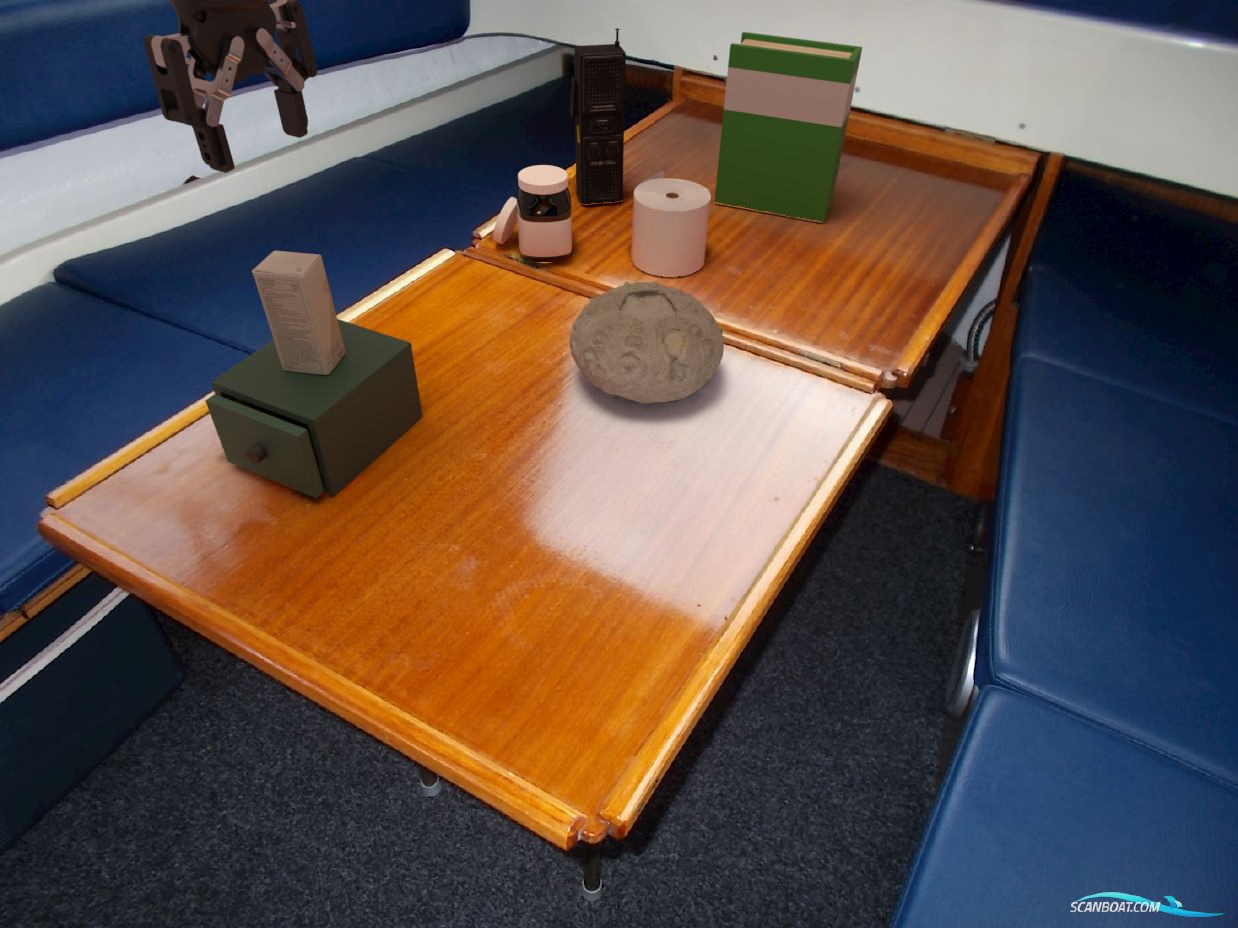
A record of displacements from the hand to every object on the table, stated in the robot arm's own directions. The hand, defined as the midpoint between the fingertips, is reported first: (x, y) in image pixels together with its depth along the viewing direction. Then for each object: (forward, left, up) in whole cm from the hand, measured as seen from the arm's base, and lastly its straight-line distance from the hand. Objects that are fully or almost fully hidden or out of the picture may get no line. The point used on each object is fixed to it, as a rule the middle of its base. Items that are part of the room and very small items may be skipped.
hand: (260, 151), depth 72 cm
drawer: (-3, 0, -30) cm, 30 cm away
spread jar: (+47, +3, -31) cm, 57 cm away
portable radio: (+67, +3, -31) cm, 74 cm away
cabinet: (0, 0, -31) cm, 31 cm away
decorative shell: (+26, -25, -31) cm, 48 cm away
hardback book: (+79, -23, -31) cm, 88 cm away
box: (0, 0, -22) cm, 22 cm away
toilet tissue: (+54, -15, -31) cm, 64 cm away
